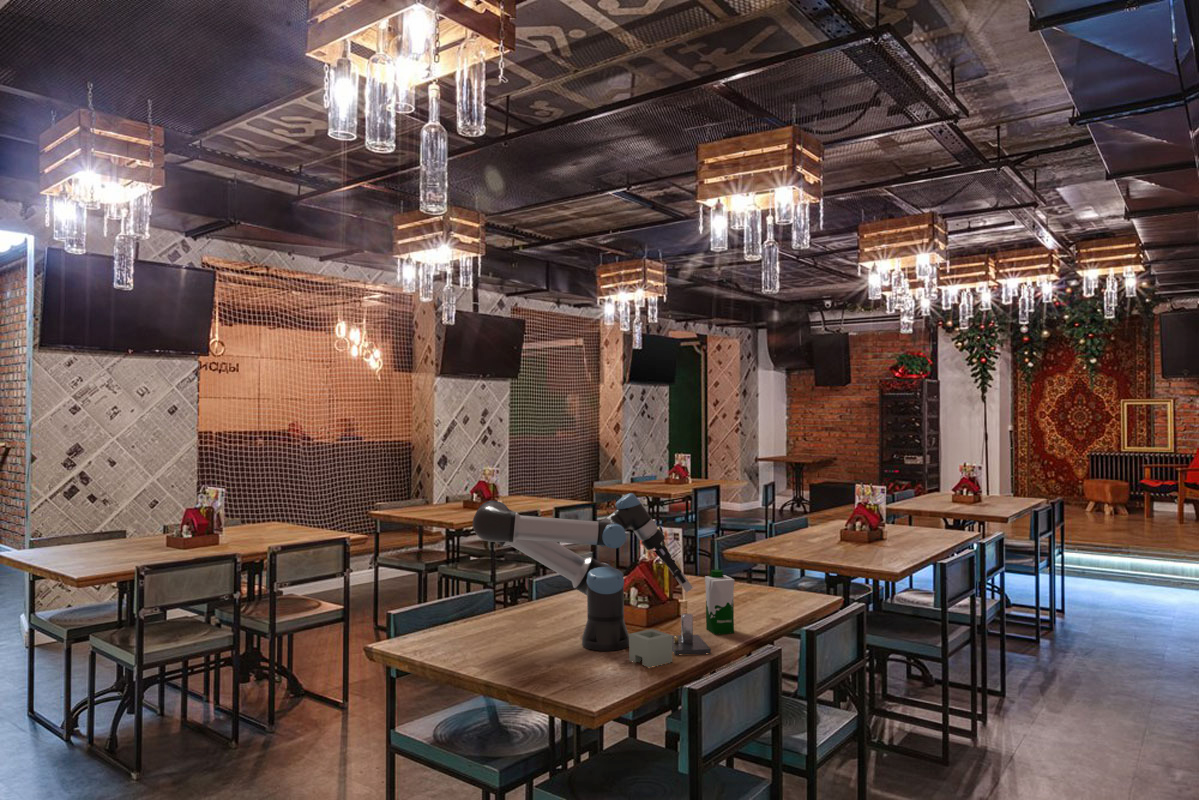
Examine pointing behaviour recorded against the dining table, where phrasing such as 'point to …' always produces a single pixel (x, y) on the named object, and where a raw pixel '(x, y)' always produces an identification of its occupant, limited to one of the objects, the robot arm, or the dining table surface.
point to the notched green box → (650, 647)
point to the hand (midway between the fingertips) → (685, 585)
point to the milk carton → (719, 603)
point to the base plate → (690, 647)
